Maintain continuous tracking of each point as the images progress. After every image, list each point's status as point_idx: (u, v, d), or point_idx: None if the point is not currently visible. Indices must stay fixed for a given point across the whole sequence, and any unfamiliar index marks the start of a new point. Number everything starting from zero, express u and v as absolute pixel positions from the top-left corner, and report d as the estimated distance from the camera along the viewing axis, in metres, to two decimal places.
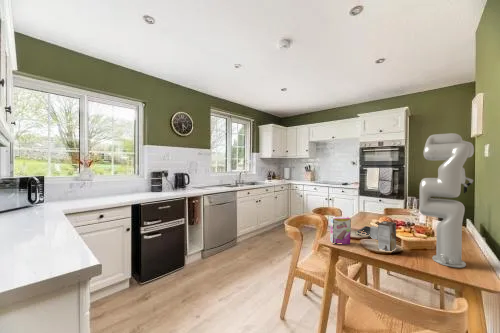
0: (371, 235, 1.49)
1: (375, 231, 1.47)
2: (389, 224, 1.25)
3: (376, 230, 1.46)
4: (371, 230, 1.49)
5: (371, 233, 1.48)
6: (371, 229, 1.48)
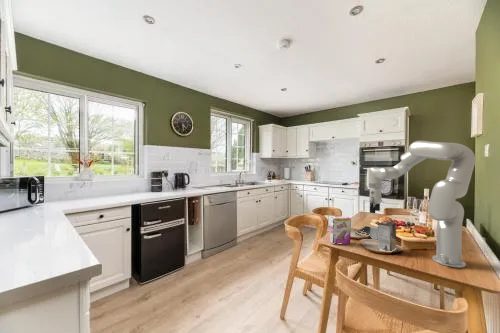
0: (371, 235, 1.49)
1: (375, 231, 1.47)
2: (389, 224, 1.25)
3: (376, 230, 1.46)
4: (371, 230, 1.49)
5: (371, 233, 1.48)
6: (371, 229, 1.48)
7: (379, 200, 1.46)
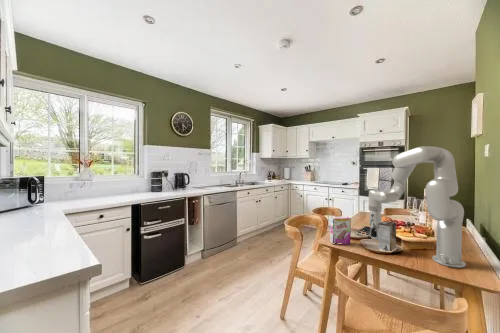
0: None
1: None
2: (389, 224, 1.25)
3: (376, 230, 1.46)
4: None
5: None
6: None
7: None
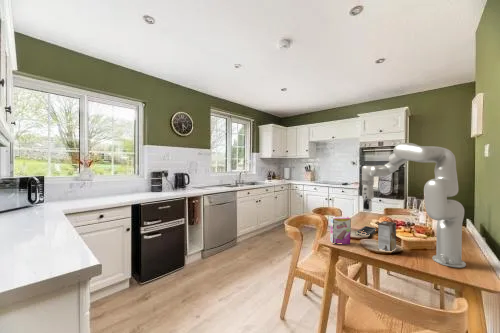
0: None
1: None
2: (389, 224, 1.25)
3: (368, 202, 1.57)
4: (363, 203, 1.59)
5: None
6: None
7: (371, 196, 1.57)
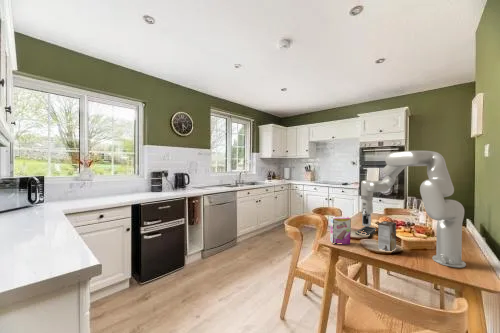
0: None
1: None
2: (389, 224, 1.25)
3: None
4: None
5: None
6: None
7: (370, 211, 1.58)
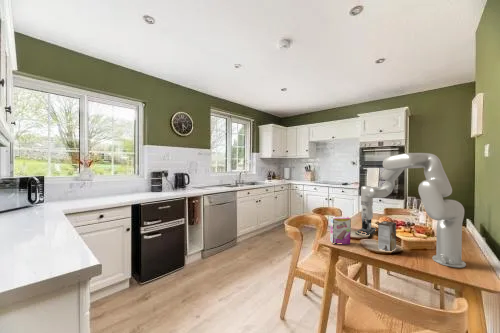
0: (363, 230, 1.60)
1: (367, 226, 1.59)
2: (389, 224, 1.25)
3: (367, 225, 1.58)
4: None
5: None
6: None
7: (370, 216, 1.58)
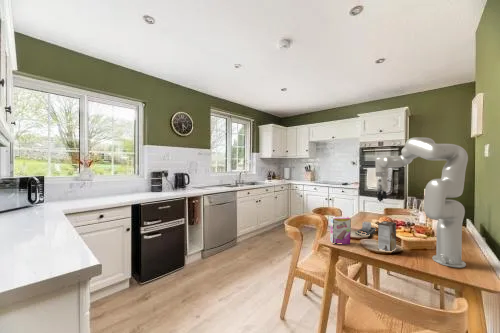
0: (363, 230, 1.60)
1: (367, 226, 1.59)
2: (389, 224, 1.25)
3: (367, 225, 1.58)
4: (363, 225, 1.60)
5: (363, 228, 1.60)
6: (363, 224, 1.60)
7: (386, 188, 1.54)
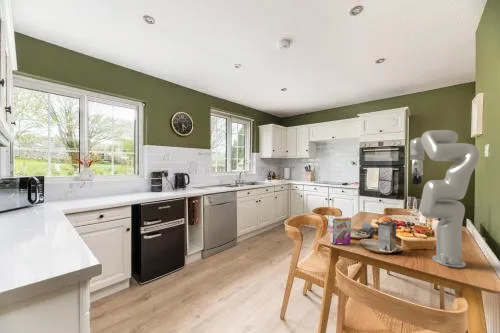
0: (363, 230, 1.60)
1: (367, 226, 1.59)
2: (389, 224, 1.25)
3: (367, 225, 1.58)
4: (363, 225, 1.60)
5: (363, 228, 1.60)
6: (363, 224, 1.60)
7: (422, 171, 1.45)
